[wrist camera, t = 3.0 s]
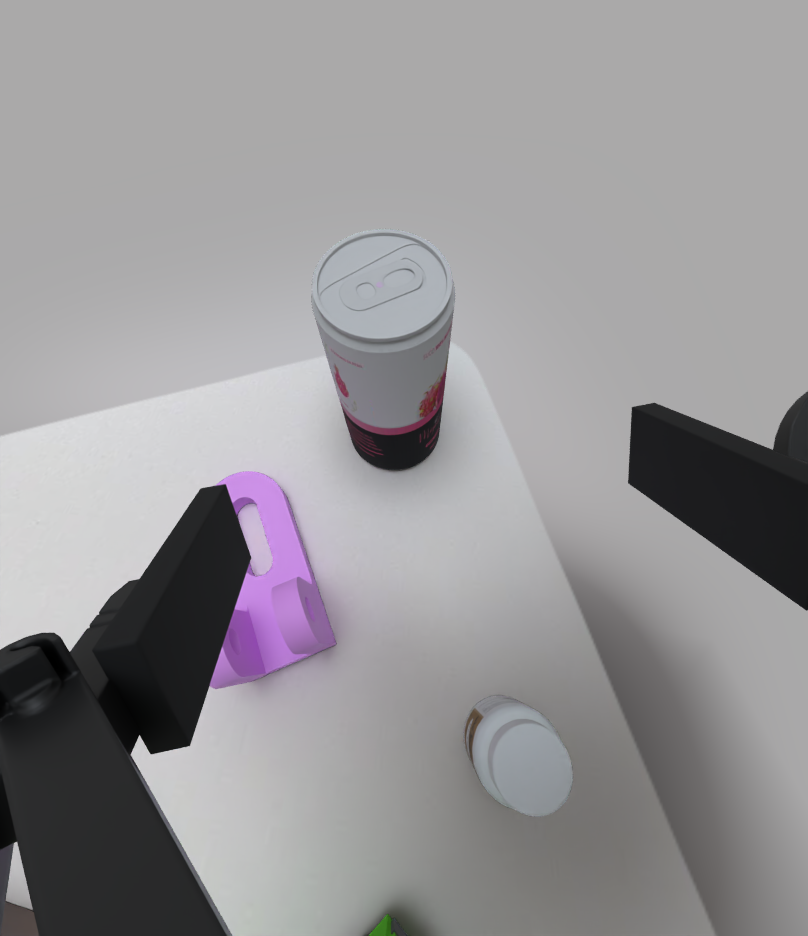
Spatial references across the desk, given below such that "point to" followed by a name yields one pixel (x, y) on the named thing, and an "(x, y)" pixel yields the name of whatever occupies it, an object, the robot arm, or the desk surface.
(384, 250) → the beverage can
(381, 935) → the toy car
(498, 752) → the pill bottle
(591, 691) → the desk surface
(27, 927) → the riser
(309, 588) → the bracket
